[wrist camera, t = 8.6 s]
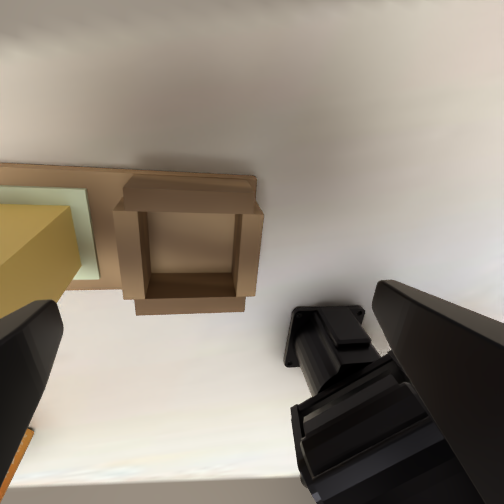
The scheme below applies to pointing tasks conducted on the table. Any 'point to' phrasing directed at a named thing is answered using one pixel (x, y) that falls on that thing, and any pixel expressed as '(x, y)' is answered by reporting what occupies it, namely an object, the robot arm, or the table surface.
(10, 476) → the small box
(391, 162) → the table surface
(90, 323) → the table surface
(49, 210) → the block
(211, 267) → the board
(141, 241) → the pocket
